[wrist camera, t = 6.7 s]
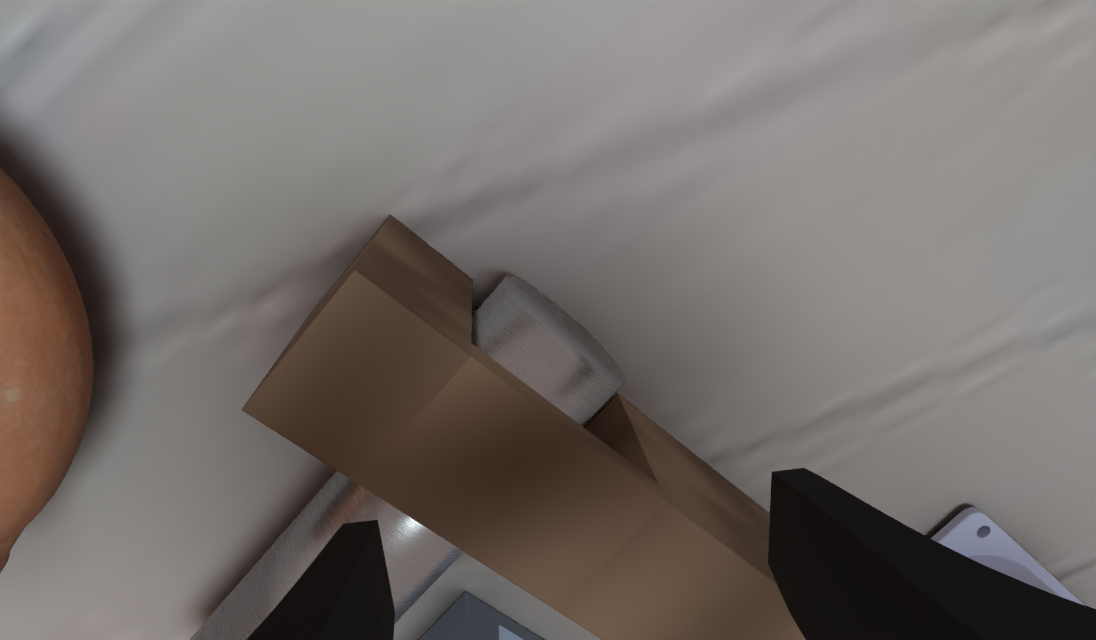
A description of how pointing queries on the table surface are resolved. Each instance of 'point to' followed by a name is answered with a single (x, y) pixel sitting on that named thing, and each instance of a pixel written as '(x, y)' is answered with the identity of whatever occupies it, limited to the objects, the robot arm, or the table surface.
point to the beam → (517, 461)
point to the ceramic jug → (37, 364)
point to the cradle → (475, 623)
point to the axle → (410, 548)
